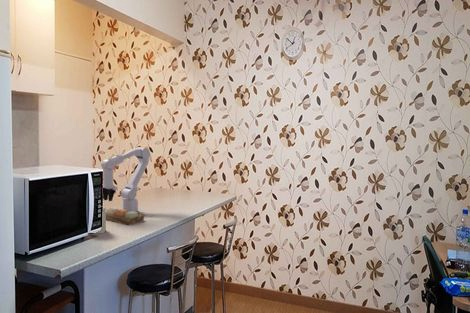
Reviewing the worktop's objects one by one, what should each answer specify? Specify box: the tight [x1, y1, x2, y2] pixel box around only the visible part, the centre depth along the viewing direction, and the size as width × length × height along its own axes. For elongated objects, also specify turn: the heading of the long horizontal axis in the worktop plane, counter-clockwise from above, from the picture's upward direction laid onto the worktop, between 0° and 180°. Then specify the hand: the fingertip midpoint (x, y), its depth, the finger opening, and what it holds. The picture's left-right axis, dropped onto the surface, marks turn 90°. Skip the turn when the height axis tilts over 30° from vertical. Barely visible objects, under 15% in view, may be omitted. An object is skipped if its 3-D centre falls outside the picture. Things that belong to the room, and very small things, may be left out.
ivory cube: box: [106, 207, 120, 214], centre depth 221 cm, size 5×5×4 cm
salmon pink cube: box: [116, 208, 128, 216], centre depth 217 cm, size 5×5×4 cm
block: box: [125, 211, 139, 219], centre depth 213 cm, size 5×5×4 cm
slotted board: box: [106, 213, 145, 226], centre depth 218 cm, size 12×24×3 cm, turn 60°
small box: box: [95, 206, 107, 234], centre depth 191 cm, size 8×6×13 cm
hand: (108, 200), depth 224 cm, fingers open, 4 cm apart
